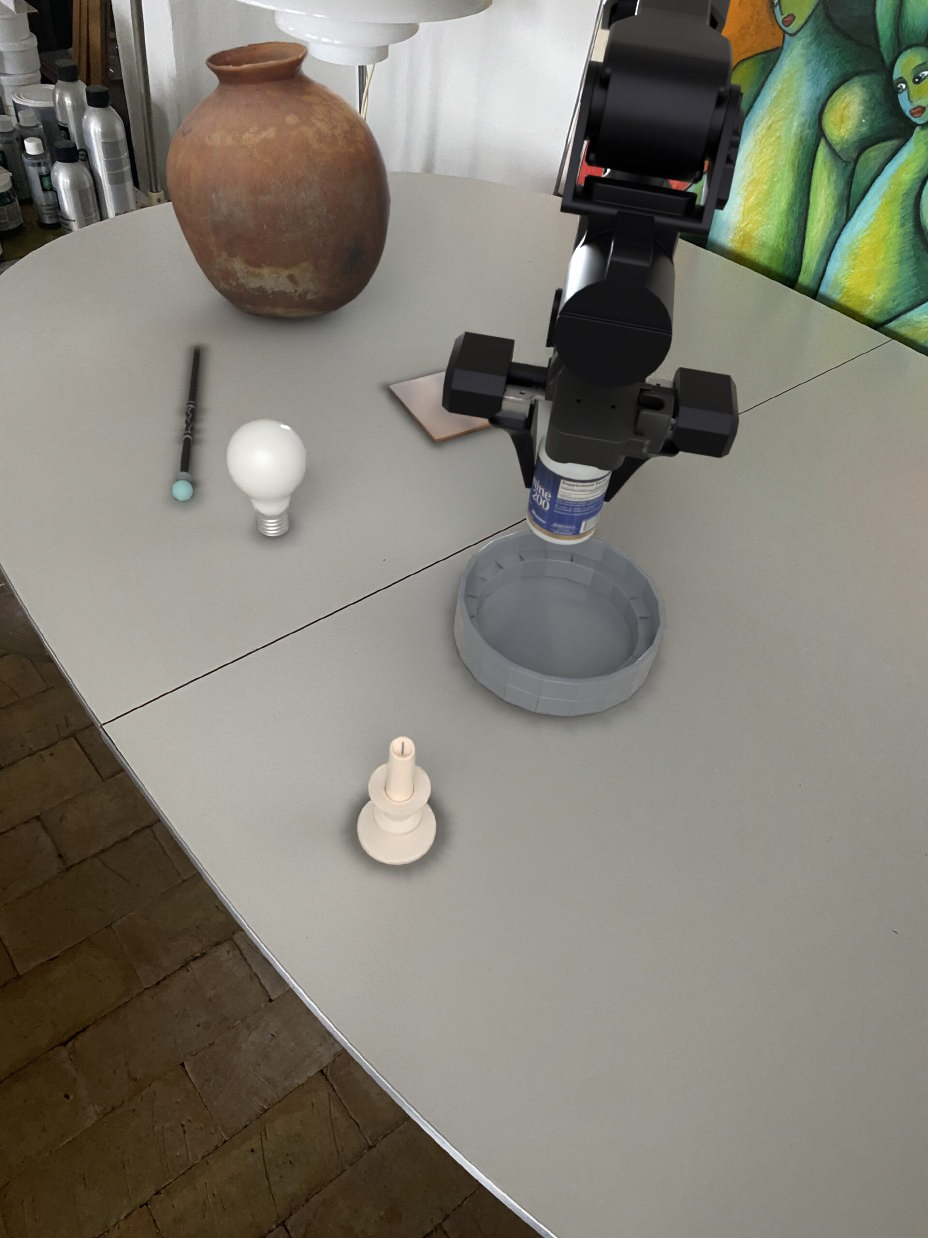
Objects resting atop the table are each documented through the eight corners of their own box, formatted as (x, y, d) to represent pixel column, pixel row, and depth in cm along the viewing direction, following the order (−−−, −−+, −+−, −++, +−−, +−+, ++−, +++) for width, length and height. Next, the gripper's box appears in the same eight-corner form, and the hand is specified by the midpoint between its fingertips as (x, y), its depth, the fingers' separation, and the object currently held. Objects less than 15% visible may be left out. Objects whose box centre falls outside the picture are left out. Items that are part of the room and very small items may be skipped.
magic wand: (200, 357, 93) (208, 345, 93) (186, 508, 77) (195, 495, 76) (185, 349, 92) (193, 336, 92) (167, 499, 76) (176, 486, 75)
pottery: (396, 351, 96) (405, 99, 77) (178, 350, 92) (132, 86, 74) (380, 252, 111) (385, 21, 92) (192, 248, 107) (157, 6, 88)
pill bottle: (520, 498, 67) (540, 390, 60) (588, 498, 68) (616, 392, 60) (529, 547, 63) (551, 440, 56) (601, 548, 64) (632, 441, 57)
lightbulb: (323, 519, 77) (319, 415, 69) (290, 565, 73) (282, 461, 65) (258, 499, 78) (246, 394, 70) (222, 543, 74) (205, 437, 66)
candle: (438, 864, 56) (451, 780, 49) (357, 867, 56) (357, 782, 48) (433, 793, 60) (445, 704, 52) (357, 795, 59) (357, 705, 51)
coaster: (469, 367, 95) (469, 364, 95) (519, 418, 90) (520, 415, 89) (388, 388, 91) (388, 385, 91) (435, 442, 86) (435, 439, 85)
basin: (574, 545, 78) (584, 507, 74) (691, 672, 69) (708, 635, 66) (417, 604, 71) (420, 565, 68) (525, 752, 63) (534, 716, 59)
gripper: (434, 337, 46) (419, 545, 58) (783, 394, 46) (697, 594, 58) (466, 241, 54) (447, 444, 66) (767, 290, 53) (693, 486, 65)
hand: (566, 491), depth 63 cm, fingers closed on pill bottle, 5 cm apart
